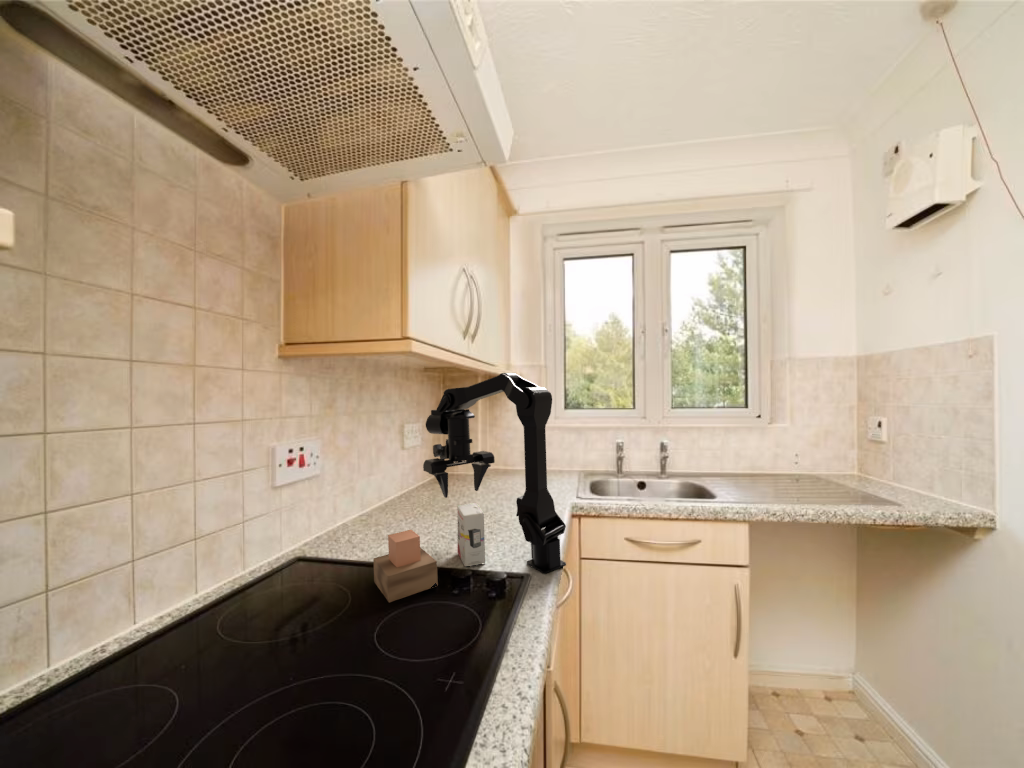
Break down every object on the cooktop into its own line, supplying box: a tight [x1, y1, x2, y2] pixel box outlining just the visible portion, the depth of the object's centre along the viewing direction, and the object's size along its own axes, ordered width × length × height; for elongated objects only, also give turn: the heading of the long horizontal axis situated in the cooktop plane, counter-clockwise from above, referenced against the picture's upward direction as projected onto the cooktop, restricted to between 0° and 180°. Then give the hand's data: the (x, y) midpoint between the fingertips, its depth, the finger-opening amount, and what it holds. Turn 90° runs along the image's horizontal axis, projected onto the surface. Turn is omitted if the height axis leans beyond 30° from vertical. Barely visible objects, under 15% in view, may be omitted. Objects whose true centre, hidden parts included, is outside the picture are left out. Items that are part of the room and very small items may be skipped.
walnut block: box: [373, 546, 439, 603], centre depth 82 cm, size 10×10×5 cm
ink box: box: [457, 502, 486, 567], centre depth 93 cm, size 9×5×12 cm, turn 19°
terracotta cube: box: [387, 529, 421, 567], centre depth 82 cm, size 5×5×5 cm
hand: (461, 494), depth 105 cm, fingers open, 9 cm apart
